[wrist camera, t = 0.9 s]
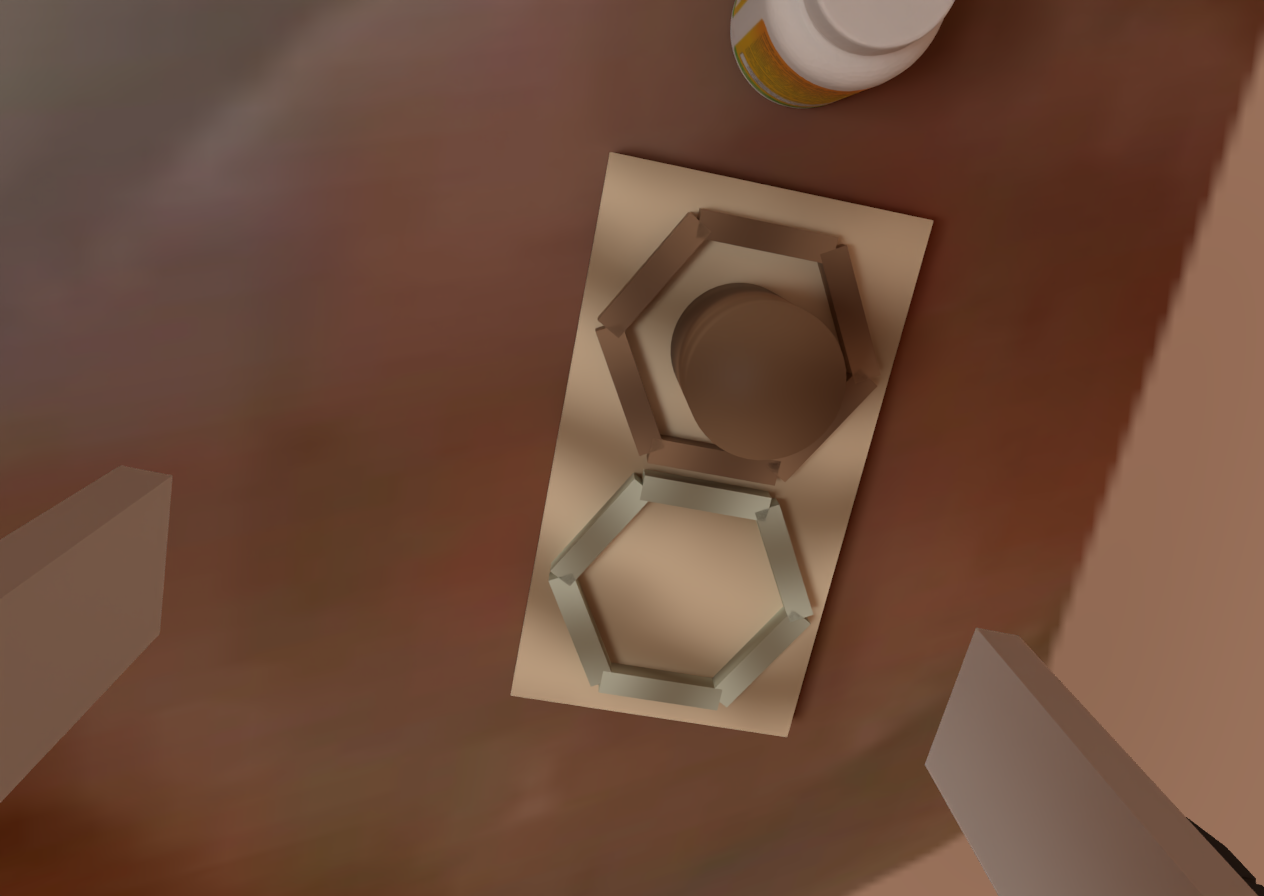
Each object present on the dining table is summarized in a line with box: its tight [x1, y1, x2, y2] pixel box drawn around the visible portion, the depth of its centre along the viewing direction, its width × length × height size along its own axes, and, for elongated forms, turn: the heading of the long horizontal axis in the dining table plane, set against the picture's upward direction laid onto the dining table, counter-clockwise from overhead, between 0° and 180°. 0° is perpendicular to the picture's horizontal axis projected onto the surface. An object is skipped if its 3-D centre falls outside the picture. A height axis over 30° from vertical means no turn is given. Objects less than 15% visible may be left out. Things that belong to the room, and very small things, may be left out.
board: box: [511, 152, 934, 737], centre depth 35 cm, size 22×12×2 cm, turn 169°
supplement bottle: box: [730, 0, 955, 108], centre depth 27 cm, size 5×5×10 cm
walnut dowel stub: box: [671, 283, 846, 460], centre depth 30 cm, size 5×5×6 cm
